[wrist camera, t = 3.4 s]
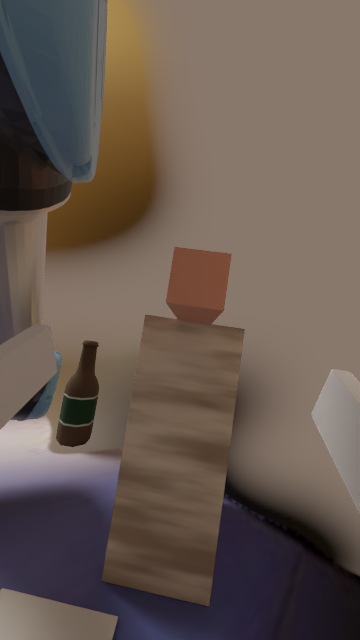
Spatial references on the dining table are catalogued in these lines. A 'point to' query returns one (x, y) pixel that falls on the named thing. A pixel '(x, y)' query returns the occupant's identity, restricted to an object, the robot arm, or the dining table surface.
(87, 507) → the dining table surface
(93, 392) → the beer bottle
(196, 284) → the pink long bar
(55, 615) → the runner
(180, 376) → the stand
